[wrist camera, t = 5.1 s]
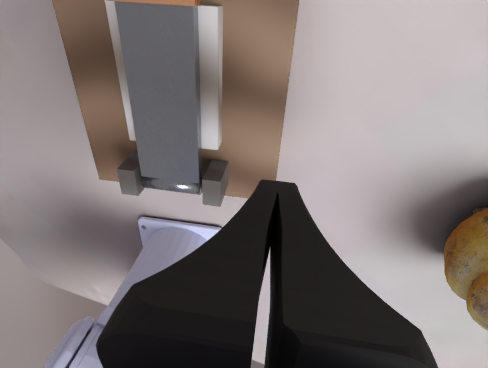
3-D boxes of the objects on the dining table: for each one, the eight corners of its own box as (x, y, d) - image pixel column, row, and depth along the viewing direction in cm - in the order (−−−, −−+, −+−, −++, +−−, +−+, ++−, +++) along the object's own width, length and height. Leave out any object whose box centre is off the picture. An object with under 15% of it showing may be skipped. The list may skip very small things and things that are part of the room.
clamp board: (274, 190, 24) (269, 232, 19) (109, 169, 25) (71, 205, 21) (311, -100, 14) (318, -138, 10) (43, -107, 15) (-49, -144, 11)
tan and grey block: (206, 188, 21) (200, 200, 20) (146, 181, 21) (138, 192, 20) (201, -57, 14) (192, -63, 12) (111, -62, 14) (94, -68, 13)
